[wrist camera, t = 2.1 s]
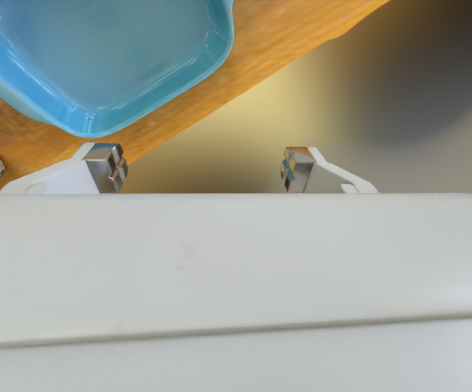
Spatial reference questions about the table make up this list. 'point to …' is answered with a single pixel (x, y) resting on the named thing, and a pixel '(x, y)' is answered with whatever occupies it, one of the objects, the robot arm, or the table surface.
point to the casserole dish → (107, 57)
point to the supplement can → (1, 168)
